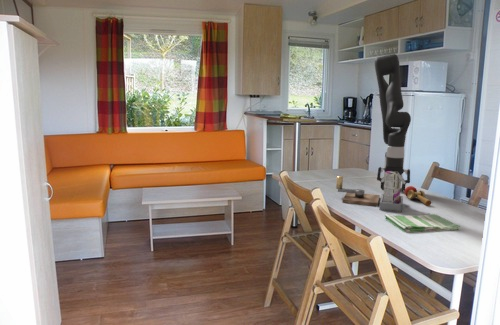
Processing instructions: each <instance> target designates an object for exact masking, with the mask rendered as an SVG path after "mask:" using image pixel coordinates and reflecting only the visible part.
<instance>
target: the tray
mask: <svg viewBox="0 0 500 325" xmlns="http://www.w3.org/2000/svg"><path fill="white" fill-rule="evenodd" d="M383 196H384V193H383V194H381V195H380V199H379V200H380V201H379V211H384V212H385V211H386V212H388V211H389V212H395V213H403V207H404V196H403V195H402V196H401V195H400V200H399V204H395V203H386V202H383Z"/></svg>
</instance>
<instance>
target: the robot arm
mask: <svg viewBox="0 0 500 325" xmlns="http://www.w3.org/2000/svg"><path fill="white" fill-rule="evenodd" d="M400 65H401V64H400V59H399V57H398V55H397V54H395V53H392V54H388V55H383V56H378V57H376V58H375V59H374V69H375V77H376V81H377V87H378V93H379V96H378V97H379V106H380V111H381V113H380V114H381V118H382V138H383V142H384V144H385V145H387V149H386V151H385V153H384V154H385V155H384V167H381V166H379V167H378V170H377V176H376V181H379V182H380V189H381V190H382V191H384V179H385V172H387V171H396V172H398V178H399V179H400V180H401V185H400V189H401V192H402V193H404V191H405V189H406V184H410V182H411V169H409V168H407V169H405V168H404V161H405V144H406V137H407V136H406V135H407V133H408V129H409V128H410V125H411V121H412V117H411V114H410V113H409V112H408V111H401V110H402V109H404V100H403V94H402V87H401V86H402V81H401V80H402V79H401V78H402V77H401V67H400ZM389 75H392V76H393V77H392V80H391V82H390V83H388V82H387V81H386V80H385V77H384V76H389ZM382 173H383V177H381V174H382ZM403 173H405V175H406V176H407V177H406V179H405V178H404V177H403Z"/></svg>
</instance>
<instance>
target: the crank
mask: <svg viewBox="0 0 500 325" xmlns="http://www.w3.org/2000/svg"><path fill="white" fill-rule="evenodd" d="M343 182H344V177H343V176H341V175H337V176H336V183H335V184H336V186H335V188H336V189H337V192H339V193H345V194H346V193H355V197H360V198H362V197H364V194H365V190H364V189H360V188H358V189H352V188H345V187H343Z"/></svg>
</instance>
